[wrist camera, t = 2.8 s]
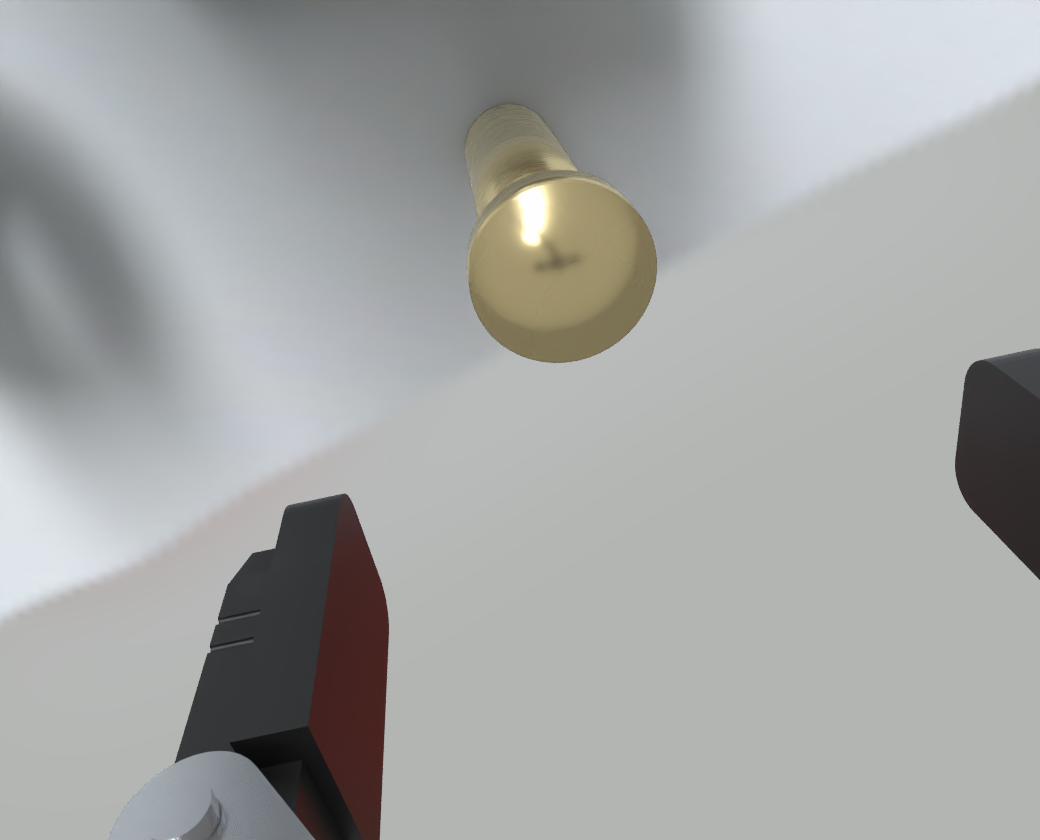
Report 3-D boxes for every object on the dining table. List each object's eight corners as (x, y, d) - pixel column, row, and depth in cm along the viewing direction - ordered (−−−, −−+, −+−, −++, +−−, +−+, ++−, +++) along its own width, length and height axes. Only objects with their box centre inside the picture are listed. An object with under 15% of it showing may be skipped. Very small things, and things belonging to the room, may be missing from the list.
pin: (463, 220, 28) (489, 379, 18) (437, 101, 26) (449, 204, 16) (576, 197, 28) (664, 342, 18) (558, 76, 26) (647, 163, 16)
